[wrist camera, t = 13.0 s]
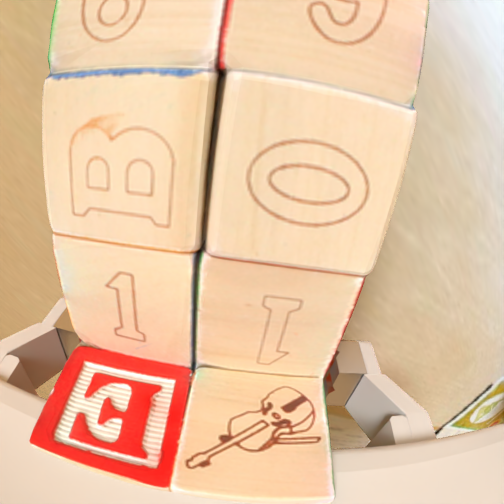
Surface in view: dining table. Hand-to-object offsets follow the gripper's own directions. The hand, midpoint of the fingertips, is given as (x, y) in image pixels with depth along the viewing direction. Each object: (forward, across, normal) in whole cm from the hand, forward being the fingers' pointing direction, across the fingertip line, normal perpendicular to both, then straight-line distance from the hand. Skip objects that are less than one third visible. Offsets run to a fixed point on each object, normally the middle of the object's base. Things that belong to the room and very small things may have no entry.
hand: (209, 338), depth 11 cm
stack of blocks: (+6, 0, 0) cm, 6 cm away
